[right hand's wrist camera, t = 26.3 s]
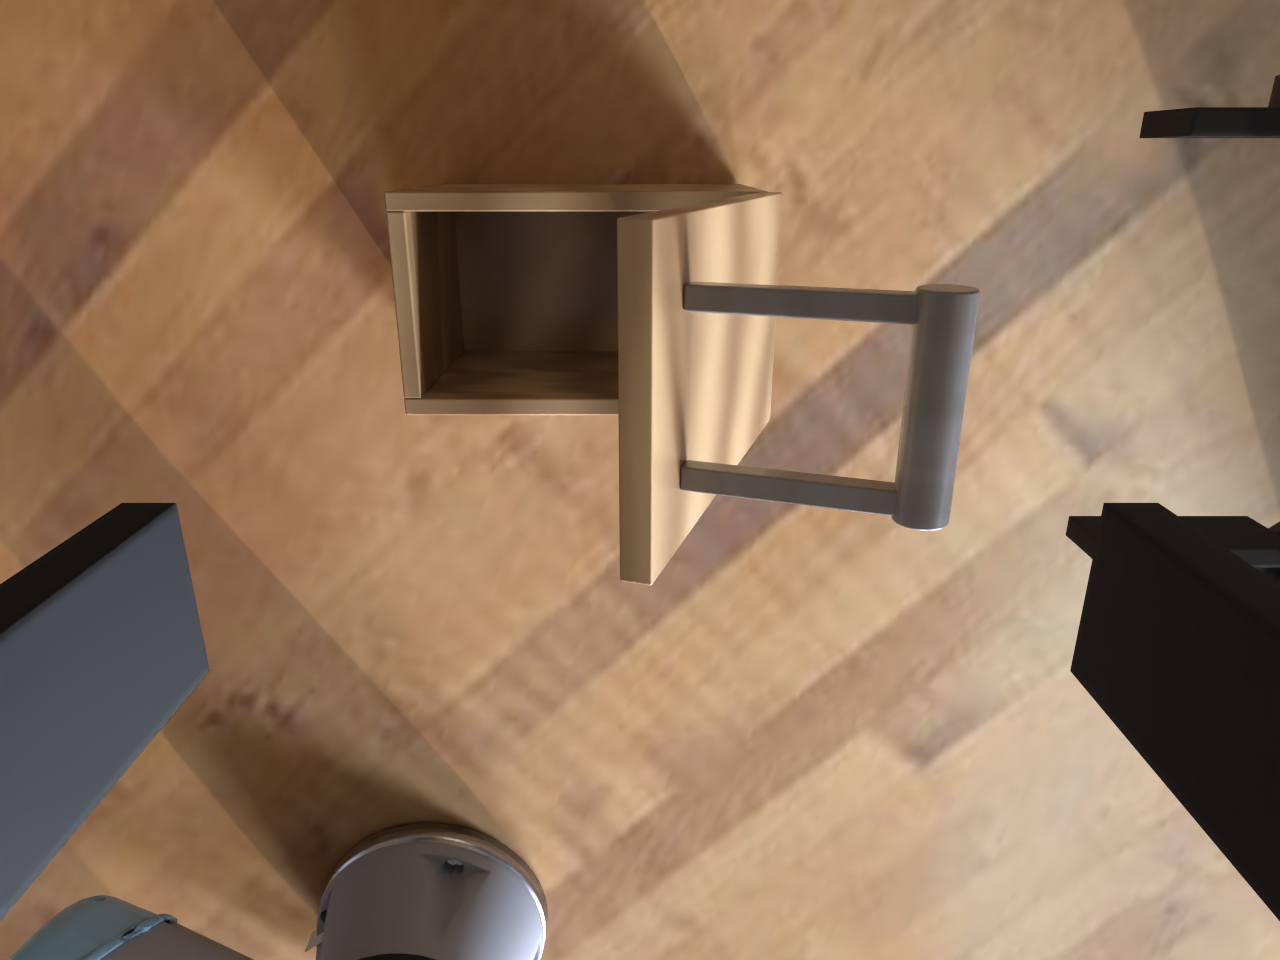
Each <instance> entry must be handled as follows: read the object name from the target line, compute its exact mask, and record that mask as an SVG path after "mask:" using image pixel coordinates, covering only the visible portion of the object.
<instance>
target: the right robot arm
mask: <svg viewBox="0 0 1280 960" xmlns="http://www.w3.org/2000/svg"><path fill="white" fill-rule="evenodd" d="M209 671H210V670H209V665H208V660H207V655H206V650H205V645H204V640H203V635H202V630H201V625H200V620H199V615H198V610H197V605H196V600H195V595H194V590H193V585H192V580H191V575H190V570H189V565H188V560H187V555H186V550H185V545H184V540H183V535H182V530H181V525H180V520H179V515H178V510H177V505H176V503H121V504H120V505H118V506H117V507H115V508H114V509H112V510H111V511H109V512H108V513H106V514H105V515H103V516H102V517H100V518H99V519H97V520H96V521H94V522H93V523H91V524H90V525H88V526H87V527H85V528H84V529H82V530H81V531H79V532H78V533H76V534H75V535H73V536H72V537H70V538H69V539H67V540H66V541H64V542H63V543H61V544H60V545H58V546H57V547H55V548H54V549H52V550H51V551H49V552H48V553H46V554H45V555H43V556H42V557H41V558H39V559H38V560H36V561H35V562H33V563H32V564H30V565H29V566H27V567H26V568H24V569H23V570H21V571H20V572H18V573H17V574H15V575H14V576H12V577H11V578H9V579H8V580H6V581H5V582H3V583H2V584H0V921H1V920H2V918H3V917H4V916H5V915H6V914H7V912H8V911H9V910H10V909H11V908H12V906H13V905H14V904H15V903H16V902H17V900H18V899H19V898H20V897H21V896H22V894H23V893H24V892H25V891H26V890H27V888H28V887H29V886H30V885H31V884H32V883H33V881H34V880H35V879H36V878H37V877H38V875H39V874H40V873H41V872H42V871H43V869H44V868H45V867H46V866H47V865H48V863H49V862H50V861H51V860H52V859H53V857H54V856H55V855H56V854H57V853H58V851H59V850H60V849H61V848H62V847H63V845H64V844H65V843H66V842H67V841H68V839H69V838H70V837H71V836H72V835H73V834H74V832H75V831H76V830H77V829H78V828H79V826H80V825H81V824H82V823H83V822H84V820H85V819H86V818H87V817H88V816H89V814H90V813H91V812H92V811H93V810H94V808H95V807H96V806H97V805H98V804H99V802H100V801H101V800H102V799H103V798H104V796H105V795H106V794H107V793H108V792H109V790H110V789H111V788H112V787H113V786H114V785H115V783H116V782H117V781H118V780H119V779H120V777H121V776H122V775H123V774H124V773H125V771H126V770H127V769H128V768H129V767H130V765H131V764H132V763H133V762H134V761H135V759H136V758H137V757H138V756H139V755H140V753H141V752H142V751H143V750H144V749H145V747H146V746H147V745H148V744H149V743H150V741H151V740H152V739H153V738H154V737H155V736H156V734H157V733H158V732H159V731H160V730H161V728H162V727H163V726H164V725H165V724H166V722H167V721H168V720H169V719H170V718H171V716H172V715H173V714H174V713H175V712H176V710H177V709H178V708H179V707H180V706H181V704H182V703H183V702H184V701H185V700H186V698H187V697H188V696H189V695H190V694H191V692H192V691H193V690H194V689H195V688H196V687H197V685H198V684H199V683H200V682H201V681H202V679H203V678H204V677H205V676H206V675H207V673H208V672H209ZM1070 671H1071V672H1072V673H1073V675H1074V676H1075V677H1076V678H1077V679H1078V681H1079V682H1080V683H1081V684H1082V685H1083V687H1084V688H1085V689H1086V690H1087V691H1088V693H1089V694H1090V695H1091V696H1092V697H1093V698H1094V700H1095V701H1096V702H1097V703H1098V704H1099V706H1100V707H1101V708H1102V709H1103V710H1104V712H1105V713H1106V714H1107V715H1108V716H1109V718H1110V719H1111V720H1112V721H1113V722H1114V724H1115V725H1116V726H1117V727H1118V728H1119V730H1120V731H1121V732H1122V733H1123V734H1124V736H1125V737H1126V738H1127V739H1128V740H1129V741H1130V743H1131V744H1132V745H1133V746H1134V747H1135V749H1136V750H1137V751H1138V752H1139V753H1140V755H1141V756H1142V757H1143V758H1144V759H1145V761H1146V762H1147V763H1148V764H1149V765H1150V767H1151V768H1152V769H1153V770H1154V771H1155V773H1156V774H1157V775H1158V776H1159V777H1160V779H1161V780H1162V781H1163V782H1164V783H1165V785H1166V786H1167V787H1168V788H1169V789H1170V790H1171V792H1172V793H1173V794H1174V795H1175V796H1176V798H1177V799H1178V800H1179V801H1180V802H1181V804H1182V805H1183V806H1184V807H1185V808H1186V810H1187V811H1188V812H1189V813H1190V814H1191V816H1192V817H1193V818H1194V819H1195V820H1196V822H1197V823H1198V824H1199V825H1200V826H1201V828H1202V829H1203V830H1204V831H1205V832H1206V834H1207V835H1208V836H1209V837H1210V838H1211V839H1212V841H1213V842H1214V843H1215V844H1216V845H1217V847H1218V848H1219V849H1220V850H1221V851H1222V853H1223V854H1224V855H1225V856H1226V857H1227V859H1228V860H1229V861H1230V862H1231V863H1232V865H1233V866H1234V867H1235V868H1236V869H1237V871H1238V872H1239V873H1240V874H1241V875H1242V877H1243V878H1244V879H1245V880H1246V881H1247V883H1248V884H1249V885H1250V886H1251V887H1252V888H1253V890H1254V891H1255V892H1256V893H1257V894H1258V896H1259V897H1260V898H1261V899H1262V900H1263V902H1264V903H1265V904H1266V905H1267V906H1268V908H1269V909H1270V910H1271V911H1272V912H1273V914H1274V915H1275V916H1276V917H1277V918H1278V920H1279V921H1280V584H1278V583H1277V582H1275V581H1274V580H1272V579H1271V578H1269V577H1268V576H1266V575H1265V574H1263V573H1262V572H1260V571H1259V570H1257V569H1256V568H1254V567H1253V566H1251V565H1250V564H1248V563H1247V562H1245V561H1244V560H1242V559H1241V558H1239V557H1238V556H1237V555H1235V554H1234V553H1232V552H1231V551H1229V550H1228V549H1226V548H1225V547H1223V546H1222V545H1220V544H1219V543H1217V542H1216V541H1214V540H1213V539H1211V538H1210V537H1208V536H1207V535H1205V534H1204V533H1202V532H1201V531H1199V530H1198V529H1196V528H1195V527H1193V526H1192V525H1190V524H1189V523H1187V522H1186V521H1184V520H1183V519H1181V518H1180V517H1178V516H1177V515H1175V514H1174V513H1172V512H1171V511H1169V510H1168V509H1166V508H1165V507H1163V506H1162V505H1160V504H1159V503H1104V505H1103V510H1102V515H1101V520H1100V525H1099V530H1098V535H1097V540H1096V545H1095V550H1094V555H1093V560H1092V565H1091V570H1090V575H1089V580H1088V585H1087V590H1086V595H1085V600H1084V605H1083V610H1082V615H1081V620H1080V625H1079V630H1078V635H1077V640H1076V645H1075V650H1074V655H1073V660H1072V665H1071V670H1070ZM546 926H547V904H546V899H545V895H544V892H543V889H542V887H541V885H540V883H539V881H538V879H537V877H536V876H535V874H534V873H533V871H532V870H531V869H530V868H529V866H528V865H527V864H526V863H525V862H524V861H523V860H522V859H521V858H520V857H519V856H518V855H517V854H516V853H514V852H513V851H512V850H511V849H509V848H508V847H506V846H505V845H503V844H502V843H500V842H498V841H497V840H495V839H493V838H491V837H489V836H487V835H484V834H482V833H479V832H477V831H474V830H470V829H467V828H463V827H459V826H454V825H447V824H437V823H417V824H408V825H402V826H397V827H393V828H390V829H386V830H384V831H381V832H378V833H376V834H374V835H372V836H370V837H368V838H366V839H364V840H363V841H361V842H359V843H358V844H357V845H355V846H354V847H353V848H352V849H350V850H349V851H348V852H347V853H346V854H345V855H344V856H343V858H342V859H341V860H340V861H339V863H338V864H337V866H336V867H335V869H334V871H333V873H332V875H331V877H330V879H329V882H328V884H327V886H326V889H325V891H324V893H323V896H322V899H321V902H320V905H319V911H318V919H317V931H315V932H313V933H312V936H311V938H310V941H309V943H308V945H307V948H306V950H305V952H306V951H308V950H309V949H311V948H313V947H314V946H316V945H317V952H316V960H540V958H541V955H542V952H543V948H544V942H545V935H546ZM9 960H253V959H251V958H249V957H247V956H245V955H243V954H241V953H239V952H236V951H234V950H232V949H230V948H228V947H226V946H224V945H222V944H220V943H217V942H215V941H213V940H211V939H209V938H207V937H205V936H203V935H201V934H199V933H196V932H194V931H192V930H190V929H188V928H186V927H184V926H182V925H180V924H177V919H176V918H175V917H173V916H171V915H168V914H159V915H157V914H154V913H152V912H150V911H147V910H145V909H142V908H140V907H138V906H135V905H133V904H130V903H128V902H125V901H123V900H121V899H118V898H115V897H111V896H94V897H90V898H86V899H82V900H80V901H78V902H76V903H74V904H73V905H70V906H69V907H67V908H65V909H64V910H63V911H61V912H60V913H59V914H57V915H56V916H55V917H53V918H52V919H51V920H50V921H49V922H48V923H46V924H45V925H44V926H43V927H42V928H41V929H40V930H39V931H38V932H36V933H35V934H34V935H33V936H32V937H31V938H30V939H29V940H28V941H27V942H26V943H25V944H24V945H23V946H22V947H21V948H20V949H19V950H18V951H17V952H16V953H15V954H14V955H13V956H12V957H11V958H10V959H9Z"/></svg>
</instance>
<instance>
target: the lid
mask: <svg viewBox="0 0 1280 960" xmlns="http://www.w3.org/2000/svg"><path fill="white" fill-rule="evenodd" d="M781 205H782V193H781V192H759V193H754V194H748V195H743V196H737V197H731V198H726V199H720V200H715V201H709V202H704V203H698V204H693V205H687V206H682V207H676V208H671V209H665V210H660V211H654V212H649V213H643V214H638V215H632V216H627V217H621V218H618V219H617V284H618V398H619V512H620V580H621V581H626V582H632V583H639V584H645V585H652V584H653V582H654V581H655V579H656V578H657V577H658V575H659V574H660V572H661V571H662V570H663V568H664V567H665V565H666V564H667V563H668V561H669V560H670V558H671V557H672V556H673V554H674V553H675V551H676V550H677V549H678V547H679V546H680V544H681V543H682V542H683V540H684V539H685V537H686V536H687V535H688V533H689V532H690V530H691V529H692V528H693V526H694V525H695V523H696V522H697V521H698V519H699V518H700V516H701V515H702V514H703V512H704V511H705V509H706V508H707V507H708V505H709V504H710V502H711V501H712V500H713V498H714V497H715V495H724V496H732V497H740V498H749V499H757V500H765V501H773V502H782V503H790V504H798V505H807V506H815V507H823V508H831V509H840V510H848V511H856V512H864V513H873V514H881V515H889V516H892V519H893V521H894V522H896V523H897V524H899V525H901V526H904V527H907V528H910V529H915V530H924V531H932V530H939V529H943V528H945V527H946V526H947V525H948V523H949V518H950V511H951V503H952V496H953V488H954V481H955V474H956V466H957V459H958V451H959V444H960V436H961V429H962V421H963V414H964V406H965V399H966V392H967V384H968V377H969V369H970V362H971V354H972V347H973V339H974V332H975V324H976V317H977V310H978V302H979V295H980V291H979V289H977V288H974V287H970V286H963V285H951V284H929V285H921V286H918V287H917V288H916V291H894V290H872V289H849V288H827V287H805V286H783V285H777V279H778V261H779V242H780V224H781ZM775 317H788V318H806V319H824V320H841V321H859V322H877V323H895V324H912V330H911V339H910V348H909V358H908V367H907V376H906V385H905V394H904V404H903V413H902V422H901V431H900V440H899V449H898V459H897V468H896V477H895V483H893V482H884V481H875V480H866V479H857V478H848V477H838V476H829V475H820V474H811V473H802V472H793V471H784V470H775V469H765V468H756V467H747V466H738V463H739V462H740V460H741V459H742V458H743V456H744V455H745V453H746V452H747V451H748V449H749V448H750V446H751V445H752V444H753V442H754V441H755V439H756V438H757V437H758V435H759V434H760V432H761V431H762V430H763V428H764V427H765V425H766V424H767V423H768V421H769V420H770V409H771V390H772V372H773V353H774V335H775Z"/></svg>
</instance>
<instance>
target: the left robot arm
mask: <svg viewBox="0 0 1280 960" xmlns="http://www.w3.org/2000/svg"><path fill="white" fill-rule="evenodd" d="M1140 138H1280V75H1278V76H1275V81H1274V85H1273V89H1272V94H1271V98H1270V102H1269V107H1268V108H1185V109H1174V110H1162V111H1151V112H1144V117H1143V122H1142V127H1141V133H1140ZM1178 517H1180V518H1181V519H1183V520H1184V521H1186V522H1187V523H1189V524H1190V525H1192V526H1193V527H1195V528H1196V529H1198V530H1199V531H1201V532H1202V533H1204V534H1205V535H1207V536H1208V537H1210V538H1211V539H1213V540H1214V541H1216V542H1217V543H1219V544H1220V545H1222V546H1223V547H1225V548H1226V549H1228V550H1229V551H1231V552H1232V553H1234V554H1235V555H1237V556H1238V557H1239V558H1241V559H1242V560H1244V561H1245V562H1247V563H1248V564H1250V565H1251V566H1253V567H1254V568H1256V569H1257V570H1259V571H1260V572H1262V573H1263V574H1265V575H1266V576H1268V577H1269V578H1271V579H1272V580H1274V581H1275V582H1277V583H1278V584H1280V522H1278V523H1276V524H1275V525H1273V526H1272V527H1270V528H1269V529H1268V528H1266V527H1265V526H1263V525H1261V524H1260V523H1258V522H1256V521H1255V520H1253V519H1251V518H1249V517H1248V516H1178ZM1100 520H1101V516H1069V520H1068V526H1067V531H1066V536H1067V537H1069V538H1070V539H1071V540H1072V541H1073V542H1074V543H1075V544H1076V545H1078V546H1079V547H1080V548H1081V549H1082V550H1083V551H1084V552H1085V553H1087V554H1088V555H1089V556H1090V557H1091V558H1092V559H1093V555H1094V550H1095V545H1096V540H1097V535H1098V530H1099V525H1100Z"/></svg>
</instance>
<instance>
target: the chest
mask: <svg viewBox="0 0 1280 960" xmlns="http://www.w3.org/2000/svg"><path fill="white" fill-rule="evenodd" d="M759 192H767V191H763V190H760V189H756V188H752V187H749V186H745V185H742V184H438V185H430V186H423V187H416V188H409V189H401V190H394V191H387V192H385V193H384V195H385V206H386V211H388V212H387V213H386V215H387V225H388V236H389V246H390V256H391V267H392V277H393V287H394V298H395V308H396V318H397V329H398V339H399V349H400V359H401V370H402V380H403V390H404V397H405V400H404V401H405V411H406V414H407V415H619V398H618V284H617V219H618V218H621V217H627V216H632V215H638V214H643V213H649V212H654V211H660V210H665V209H671V208H676V207H682V206H687V205H693V204H698V203H704V202H709V201H715V200H720V199H726V198H731V197H737V196H743V195H748V194H754V193H759Z"/></svg>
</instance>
